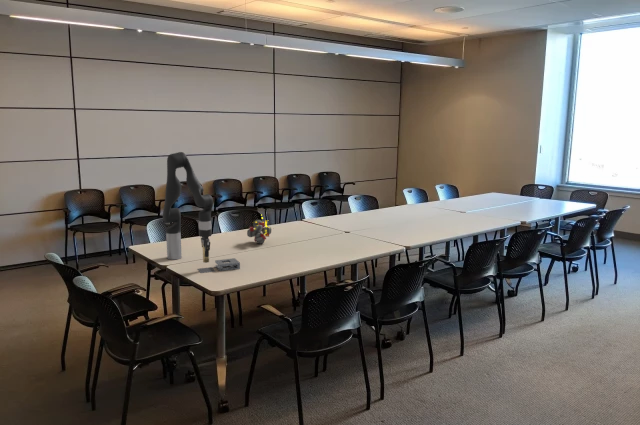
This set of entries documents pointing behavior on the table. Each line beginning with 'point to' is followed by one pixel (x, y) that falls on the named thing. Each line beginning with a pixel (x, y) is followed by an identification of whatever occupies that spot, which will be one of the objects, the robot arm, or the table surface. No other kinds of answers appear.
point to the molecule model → (256, 231)
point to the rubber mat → (206, 270)
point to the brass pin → (205, 259)
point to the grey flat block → (227, 264)
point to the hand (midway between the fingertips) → (205, 255)
